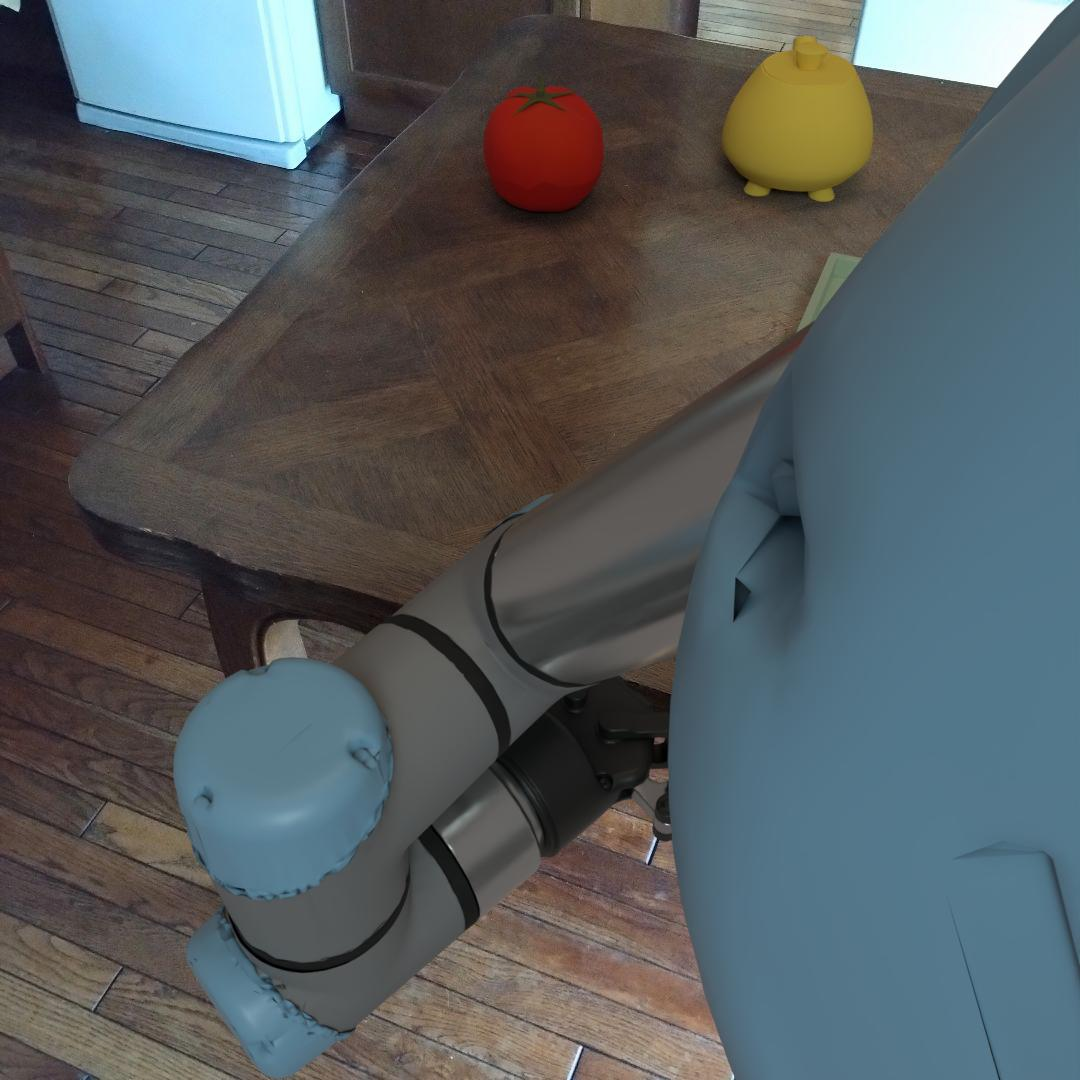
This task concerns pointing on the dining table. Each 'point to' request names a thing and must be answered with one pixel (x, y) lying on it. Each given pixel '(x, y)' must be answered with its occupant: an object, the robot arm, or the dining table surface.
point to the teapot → (799, 123)
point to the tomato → (543, 148)
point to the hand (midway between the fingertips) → (773, 583)
